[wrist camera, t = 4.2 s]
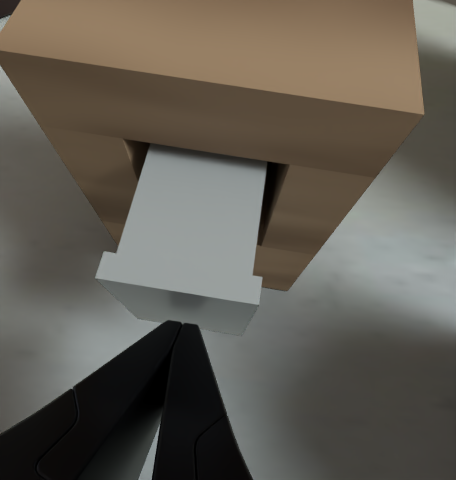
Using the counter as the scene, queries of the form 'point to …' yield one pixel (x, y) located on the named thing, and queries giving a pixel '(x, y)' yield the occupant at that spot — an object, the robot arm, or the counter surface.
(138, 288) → the grey key
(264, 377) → the counter surface
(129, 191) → the walnut block
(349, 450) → the counter surface
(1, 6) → the vinegar
